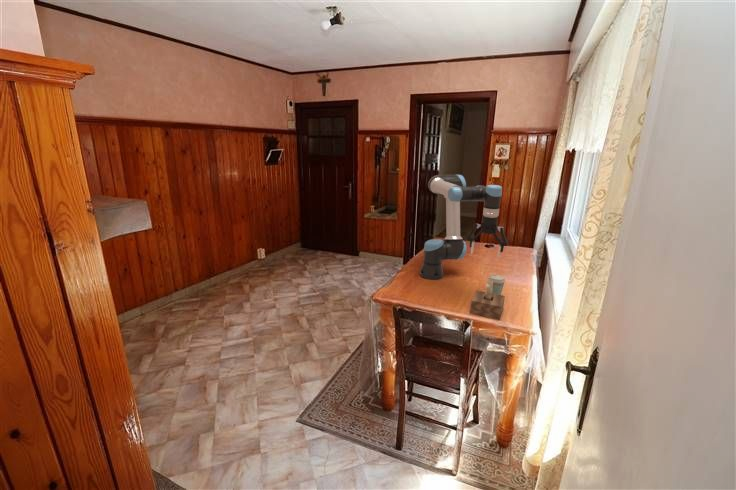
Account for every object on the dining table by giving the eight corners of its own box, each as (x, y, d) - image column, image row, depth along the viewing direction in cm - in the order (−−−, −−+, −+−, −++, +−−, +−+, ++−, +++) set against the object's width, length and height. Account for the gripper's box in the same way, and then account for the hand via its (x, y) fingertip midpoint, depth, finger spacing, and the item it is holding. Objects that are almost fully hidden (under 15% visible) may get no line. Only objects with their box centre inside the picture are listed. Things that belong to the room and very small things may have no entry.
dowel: (482, 307, 170) (485, 282, 166) (484, 304, 173) (487, 279, 169) (489, 308, 168) (492, 283, 164) (490, 306, 171) (493, 281, 167)
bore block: (470, 313, 168) (471, 300, 166) (475, 302, 180) (476, 290, 178) (499, 319, 162) (501, 306, 160) (503, 308, 174) (504, 295, 172)
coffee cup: (498, 293, 191) (501, 274, 188) (505, 300, 183) (508, 280, 179) (484, 293, 191) (486, 274, 187) (489, 300, 182) (492, 280, 179)
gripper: (463, 214, 171) (459, 253, 178) (516, 220, 160) (509, 262, 167) (467, 211, 178) (463, 249, 184) (517, 217, 166) (511, 257, 173)
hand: (485, 255), depth 176 cm, fingers open, 13 cm apart
